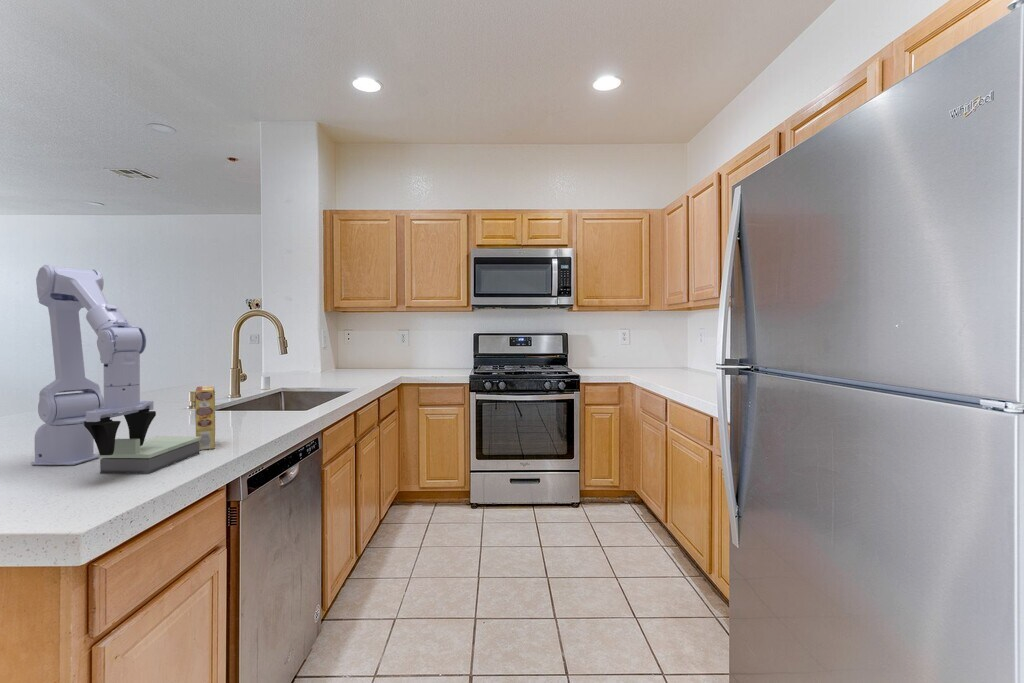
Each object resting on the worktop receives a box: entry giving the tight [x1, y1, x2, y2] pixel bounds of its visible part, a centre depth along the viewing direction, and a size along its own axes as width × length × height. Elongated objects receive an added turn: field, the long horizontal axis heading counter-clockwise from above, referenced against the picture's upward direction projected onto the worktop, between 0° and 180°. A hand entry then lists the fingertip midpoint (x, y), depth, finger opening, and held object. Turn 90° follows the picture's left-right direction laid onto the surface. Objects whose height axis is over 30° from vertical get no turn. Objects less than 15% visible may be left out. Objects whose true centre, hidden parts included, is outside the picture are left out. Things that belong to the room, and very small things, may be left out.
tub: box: [99, 441, 200, 475], centre depth 103 cm, size 10×16×3 cm, turn 1°
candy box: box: [194, 385, 216, 451], centre depth 118 cm, size 9×4×15 cm, turn 33°
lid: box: [97, 435, 201, 459], centre depth 103 cm, size 11×16×4 cm, turn 1°
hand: (122, 450), depth 95 cm, fingers open, 7 cm apart
